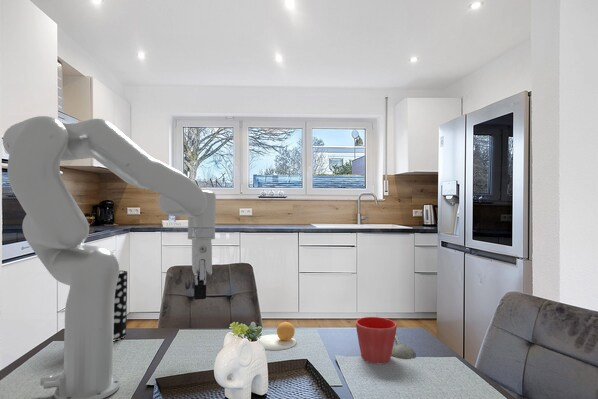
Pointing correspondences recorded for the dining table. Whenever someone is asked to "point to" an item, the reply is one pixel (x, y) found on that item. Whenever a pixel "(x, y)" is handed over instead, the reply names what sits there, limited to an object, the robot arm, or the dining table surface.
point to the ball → (285, 331)
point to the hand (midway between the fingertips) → (199, 298)
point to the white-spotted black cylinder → (120, 306)
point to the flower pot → (376, 338)
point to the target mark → (276, 342)
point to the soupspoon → (402, 350)
